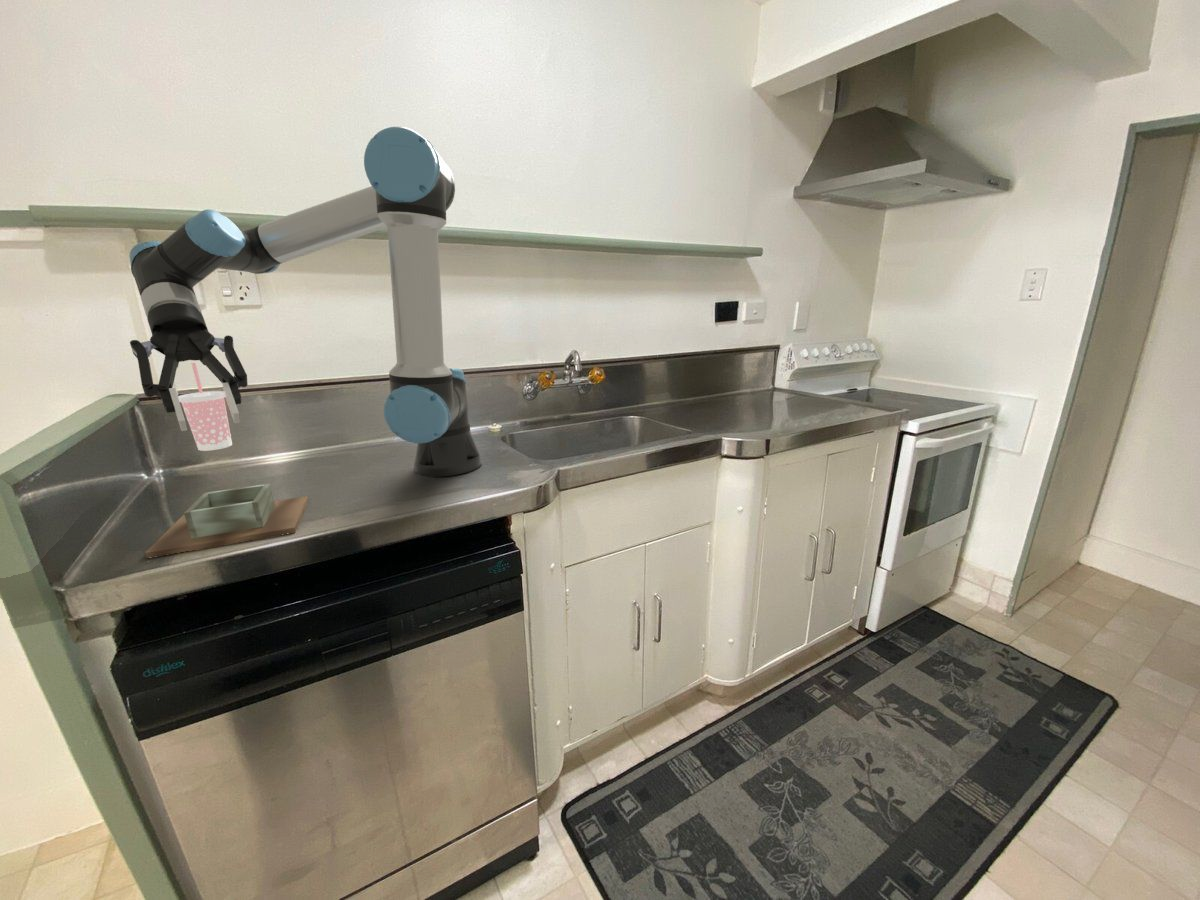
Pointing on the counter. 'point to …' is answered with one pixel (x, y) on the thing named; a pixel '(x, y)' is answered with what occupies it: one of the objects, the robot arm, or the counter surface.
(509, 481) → the counter surface
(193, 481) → the counter surface
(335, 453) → the counter surface
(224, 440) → the beverage cup
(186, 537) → the cup holder
